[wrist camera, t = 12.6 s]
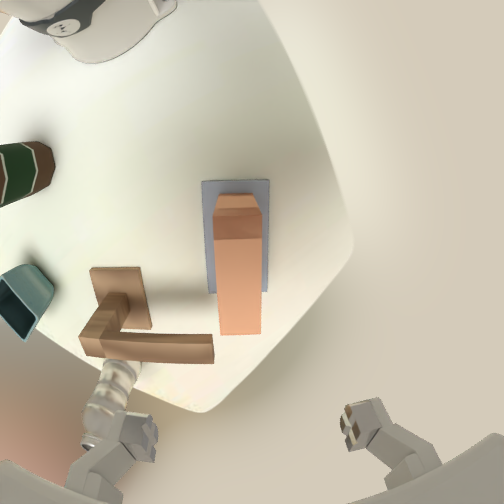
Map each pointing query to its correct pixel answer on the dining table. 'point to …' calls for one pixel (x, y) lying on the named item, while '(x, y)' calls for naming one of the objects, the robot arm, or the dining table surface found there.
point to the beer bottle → (24, 170)
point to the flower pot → (24, 298)
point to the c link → (238, 263)
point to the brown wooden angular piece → (135, 325)
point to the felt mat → (209, 202)
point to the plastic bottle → (108, 399)
